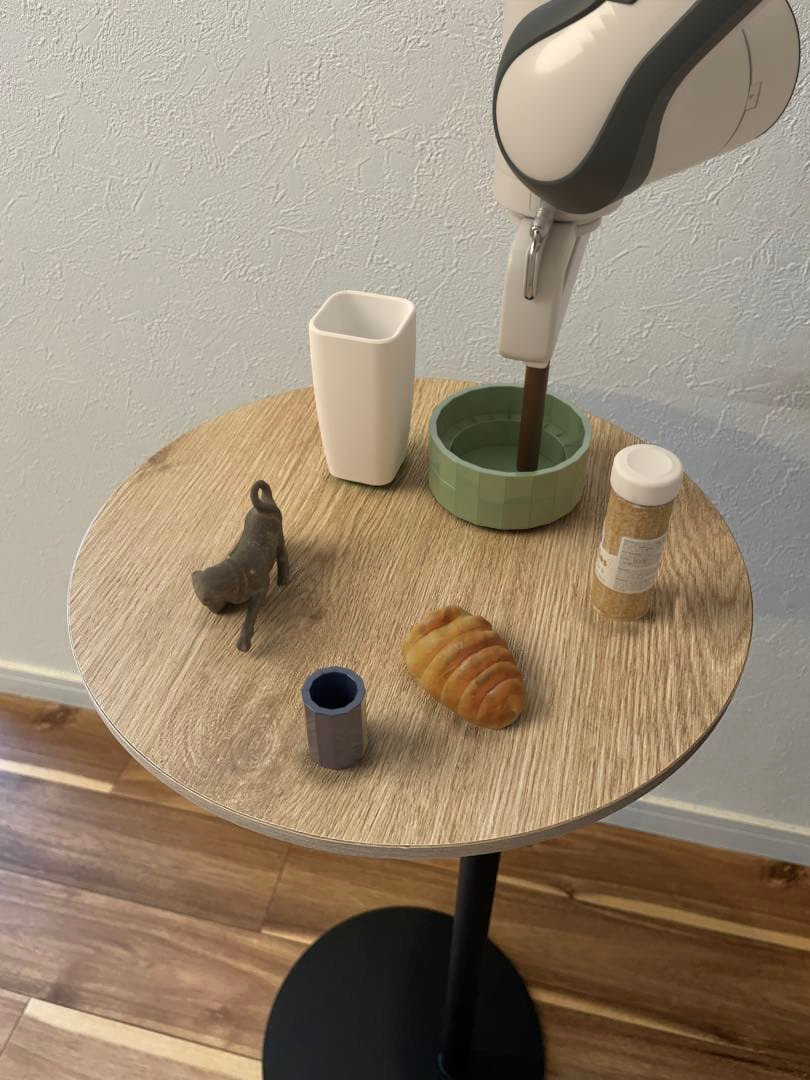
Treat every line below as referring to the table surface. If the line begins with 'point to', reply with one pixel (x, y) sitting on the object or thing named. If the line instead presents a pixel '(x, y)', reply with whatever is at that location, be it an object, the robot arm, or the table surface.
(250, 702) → the table surface
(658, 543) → the tan spice jar
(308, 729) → the holder
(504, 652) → the pastry
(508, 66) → the robot arm
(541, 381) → the stick
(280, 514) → the dog figurine
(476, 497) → the bowl
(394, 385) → the cup
